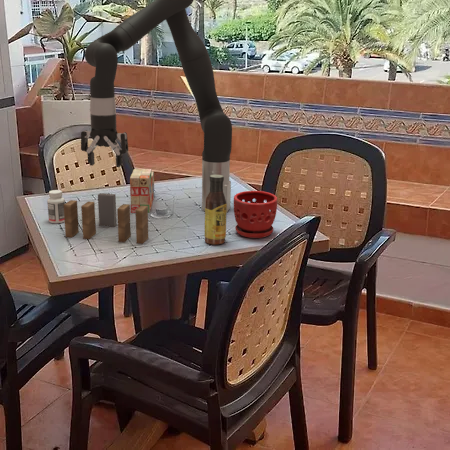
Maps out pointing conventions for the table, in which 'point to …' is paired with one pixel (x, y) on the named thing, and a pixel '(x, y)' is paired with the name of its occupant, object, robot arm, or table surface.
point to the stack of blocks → (141, 188)
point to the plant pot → (255, 213)
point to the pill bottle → (56, 207)
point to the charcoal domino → (107, 209)
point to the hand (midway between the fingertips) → (105, 165)
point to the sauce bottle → (215, 212)
